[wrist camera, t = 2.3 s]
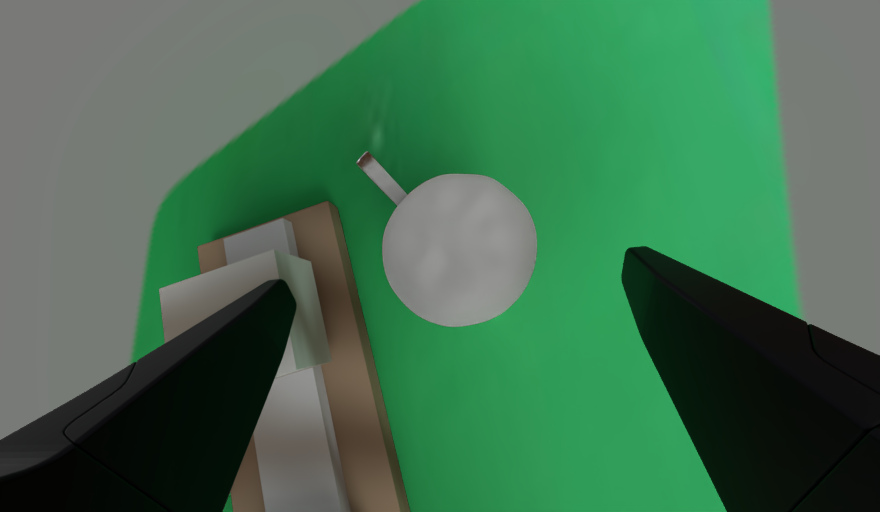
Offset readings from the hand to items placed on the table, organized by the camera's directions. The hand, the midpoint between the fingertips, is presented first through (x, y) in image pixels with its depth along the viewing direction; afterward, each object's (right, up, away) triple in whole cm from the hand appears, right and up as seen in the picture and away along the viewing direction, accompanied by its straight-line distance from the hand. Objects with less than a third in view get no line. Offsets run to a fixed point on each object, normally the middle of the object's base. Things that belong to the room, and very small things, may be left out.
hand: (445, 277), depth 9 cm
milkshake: (+1, 0, +9) cm, 9 cm away
